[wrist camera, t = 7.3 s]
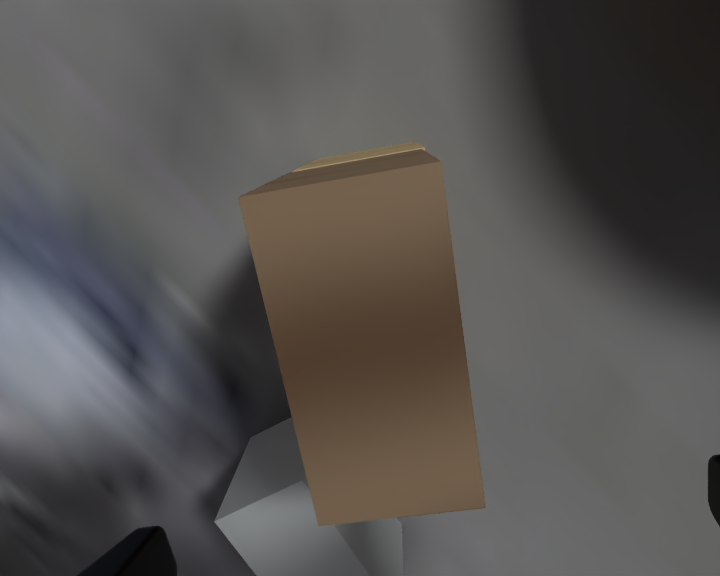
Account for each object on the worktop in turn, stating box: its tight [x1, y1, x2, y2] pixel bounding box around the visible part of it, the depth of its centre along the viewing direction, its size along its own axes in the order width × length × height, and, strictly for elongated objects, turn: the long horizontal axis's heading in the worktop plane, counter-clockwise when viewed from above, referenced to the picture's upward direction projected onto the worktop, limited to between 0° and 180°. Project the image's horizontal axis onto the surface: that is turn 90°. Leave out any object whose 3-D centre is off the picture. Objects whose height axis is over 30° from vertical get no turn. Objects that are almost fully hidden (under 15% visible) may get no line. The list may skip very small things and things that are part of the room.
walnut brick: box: [238, 149, 485, 526], centre depth 12 cm, size 7×4×5 cm, turn 10°
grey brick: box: [214, 417, 404, 576], centre depth 20 cm, size 7×4×5 cm, turn 30°
